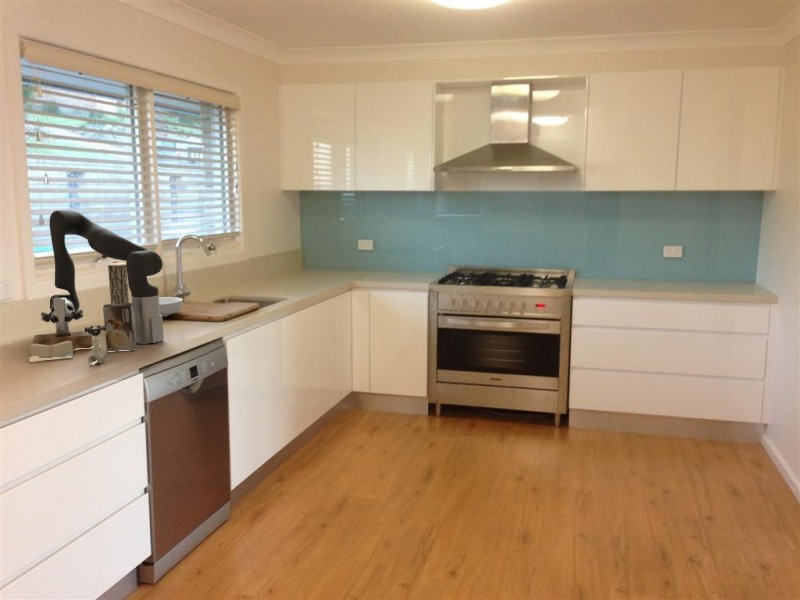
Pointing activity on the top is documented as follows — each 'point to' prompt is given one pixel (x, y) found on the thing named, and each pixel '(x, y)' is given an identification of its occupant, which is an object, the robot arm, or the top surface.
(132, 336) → the coffee box
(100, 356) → the valve
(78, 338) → the wooden block with hole
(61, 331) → the axle
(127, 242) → the robot arm
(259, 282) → the top surface
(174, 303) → the serving bowl
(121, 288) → the wooden log
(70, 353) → the v block
